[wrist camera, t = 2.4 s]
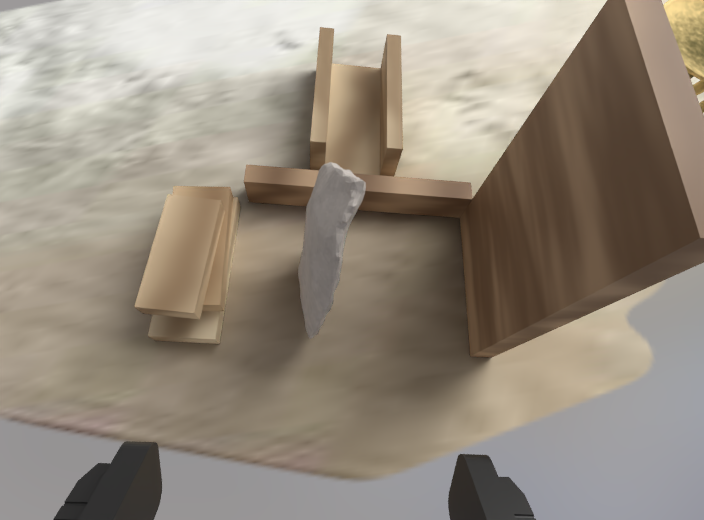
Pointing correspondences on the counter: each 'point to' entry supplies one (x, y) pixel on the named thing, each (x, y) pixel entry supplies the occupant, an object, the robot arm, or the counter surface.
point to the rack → (567, 187)
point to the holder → (357, 111)
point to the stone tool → (326, 240)
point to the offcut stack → (190, 265)
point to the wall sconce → (689, 36)
